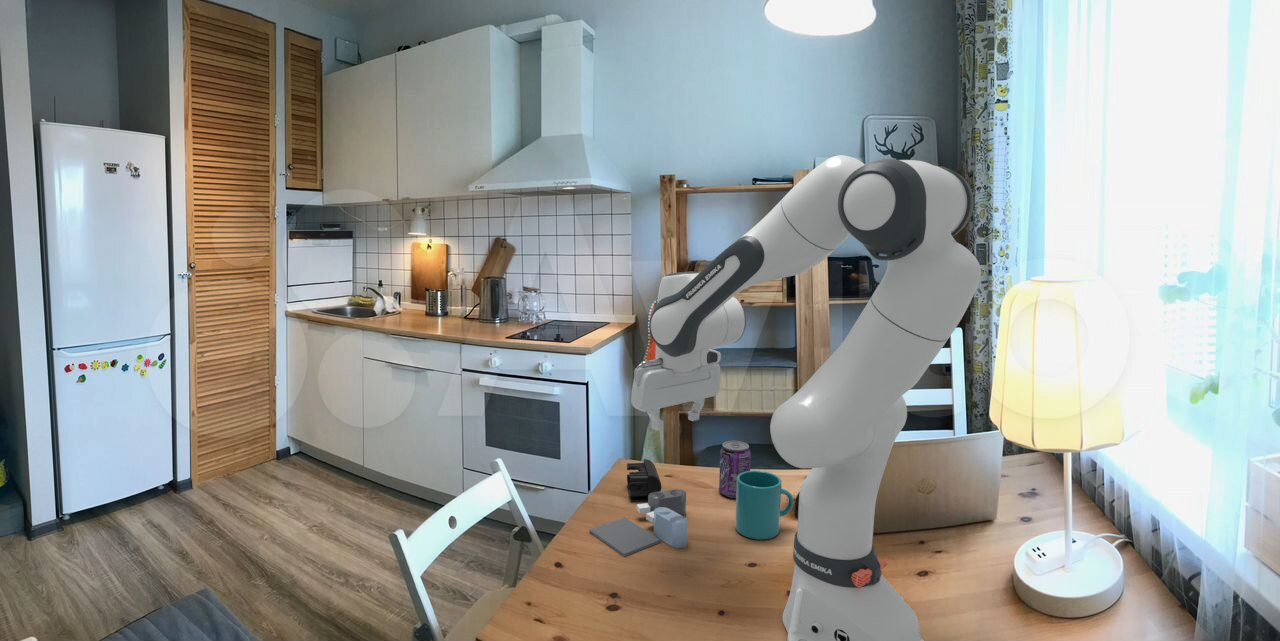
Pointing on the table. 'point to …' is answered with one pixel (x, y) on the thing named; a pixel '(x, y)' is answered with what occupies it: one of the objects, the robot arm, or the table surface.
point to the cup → (759, 504)
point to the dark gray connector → (665, 501)
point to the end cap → (642, 481)
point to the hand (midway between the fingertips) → (675, 424)
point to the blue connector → (669, 526)
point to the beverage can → (733, 465)
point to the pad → (624, 536)
